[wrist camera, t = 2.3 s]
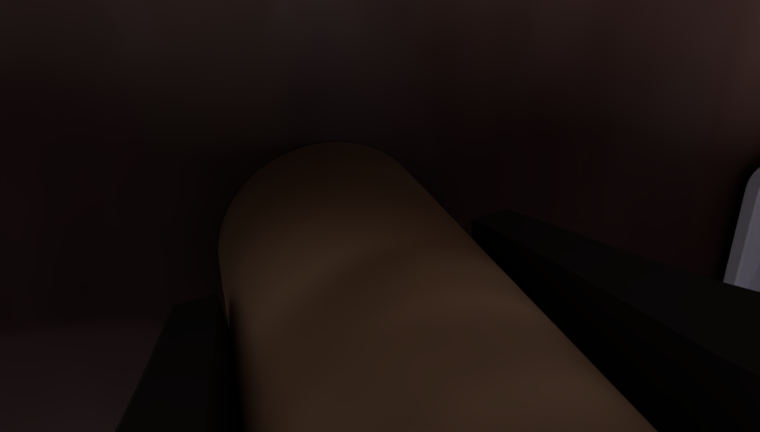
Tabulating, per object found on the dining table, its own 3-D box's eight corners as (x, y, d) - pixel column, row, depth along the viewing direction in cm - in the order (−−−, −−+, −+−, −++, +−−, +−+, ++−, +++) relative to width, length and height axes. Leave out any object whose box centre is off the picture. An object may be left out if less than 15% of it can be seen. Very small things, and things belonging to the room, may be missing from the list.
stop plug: (418, 119, 10) (790, 412, 4) (433, 295, 12) (695, 662, 6) (189, 173, 9) (227, 657, 3) (248, 354, 11) (340, 855, 5)
